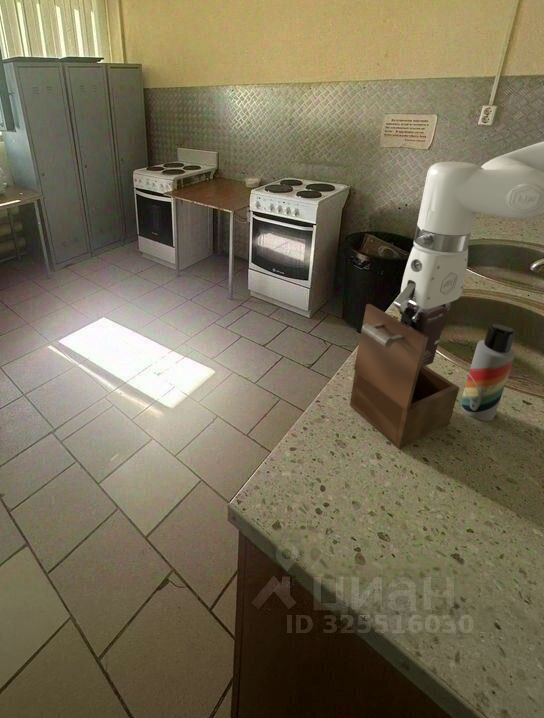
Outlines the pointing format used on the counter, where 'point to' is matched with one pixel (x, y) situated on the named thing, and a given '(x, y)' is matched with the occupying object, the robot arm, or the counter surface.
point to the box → (431, 330)
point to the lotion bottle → (488, 373)
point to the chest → (419, 420)
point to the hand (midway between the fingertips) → (420, 330)
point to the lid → (390, 355)
